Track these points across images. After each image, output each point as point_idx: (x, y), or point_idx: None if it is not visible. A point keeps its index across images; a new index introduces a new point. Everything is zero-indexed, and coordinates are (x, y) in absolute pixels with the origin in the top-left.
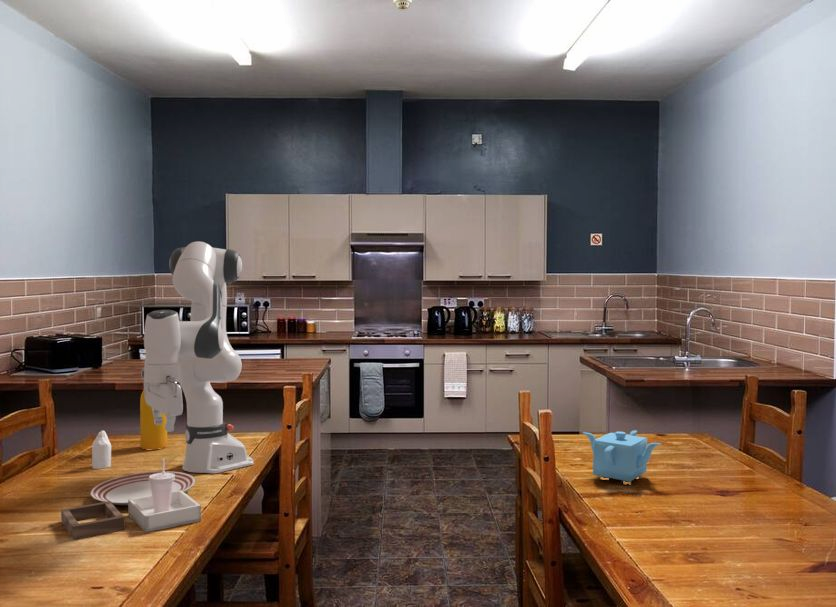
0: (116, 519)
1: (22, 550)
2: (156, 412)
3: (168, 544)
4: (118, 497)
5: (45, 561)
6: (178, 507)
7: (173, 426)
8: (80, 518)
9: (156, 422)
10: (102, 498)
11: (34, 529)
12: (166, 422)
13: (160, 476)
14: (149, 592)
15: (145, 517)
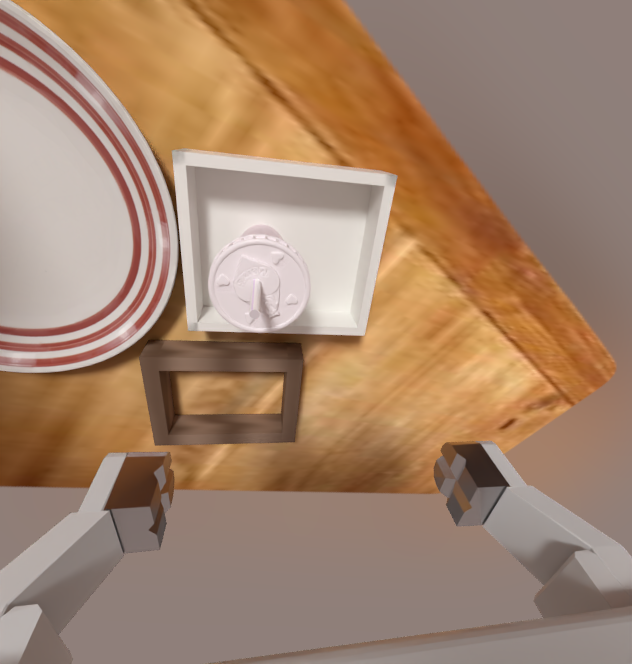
0: (301, 373)
1: (288, 478)
2: (58, 605)
3: (455, 299)
4: (20, 296)
5: (360, 460)
6: (242, 185)
7: (513, 470)
8: (172, 399)
9: (166, 503)
10: (34, 341)
11: (187, 460)
12: (517, 549)
13: (273, 299)
14: (587, 380)
15: (364, 333)
